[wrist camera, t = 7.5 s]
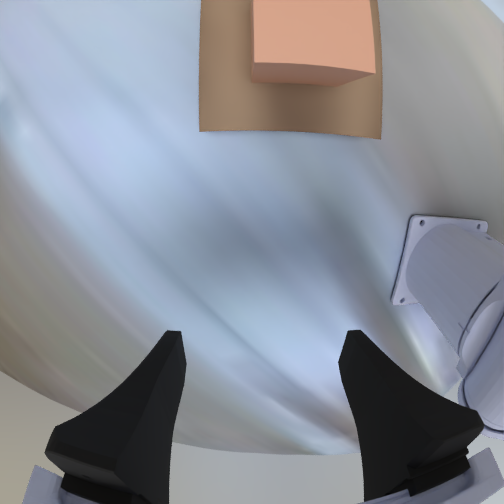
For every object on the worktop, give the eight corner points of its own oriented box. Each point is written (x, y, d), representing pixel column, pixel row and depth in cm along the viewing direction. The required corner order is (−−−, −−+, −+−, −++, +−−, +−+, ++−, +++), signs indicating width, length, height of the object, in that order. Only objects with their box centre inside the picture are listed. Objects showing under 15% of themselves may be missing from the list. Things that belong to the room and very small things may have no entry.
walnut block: (356, 7, 13) (375, -10, 10) (358, 135, 17) (380, 139, 14) (209, -4, 13) (202, -26, 10) (207, 130, 17) (199, 131, 14)
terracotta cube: (333, 16, 11) (366, -19, 6) (336, 86, 13) (375, 73, 8) (250, 10, 11) (252, -33, 6) (252, 82, 13) (254, 62, 8)
